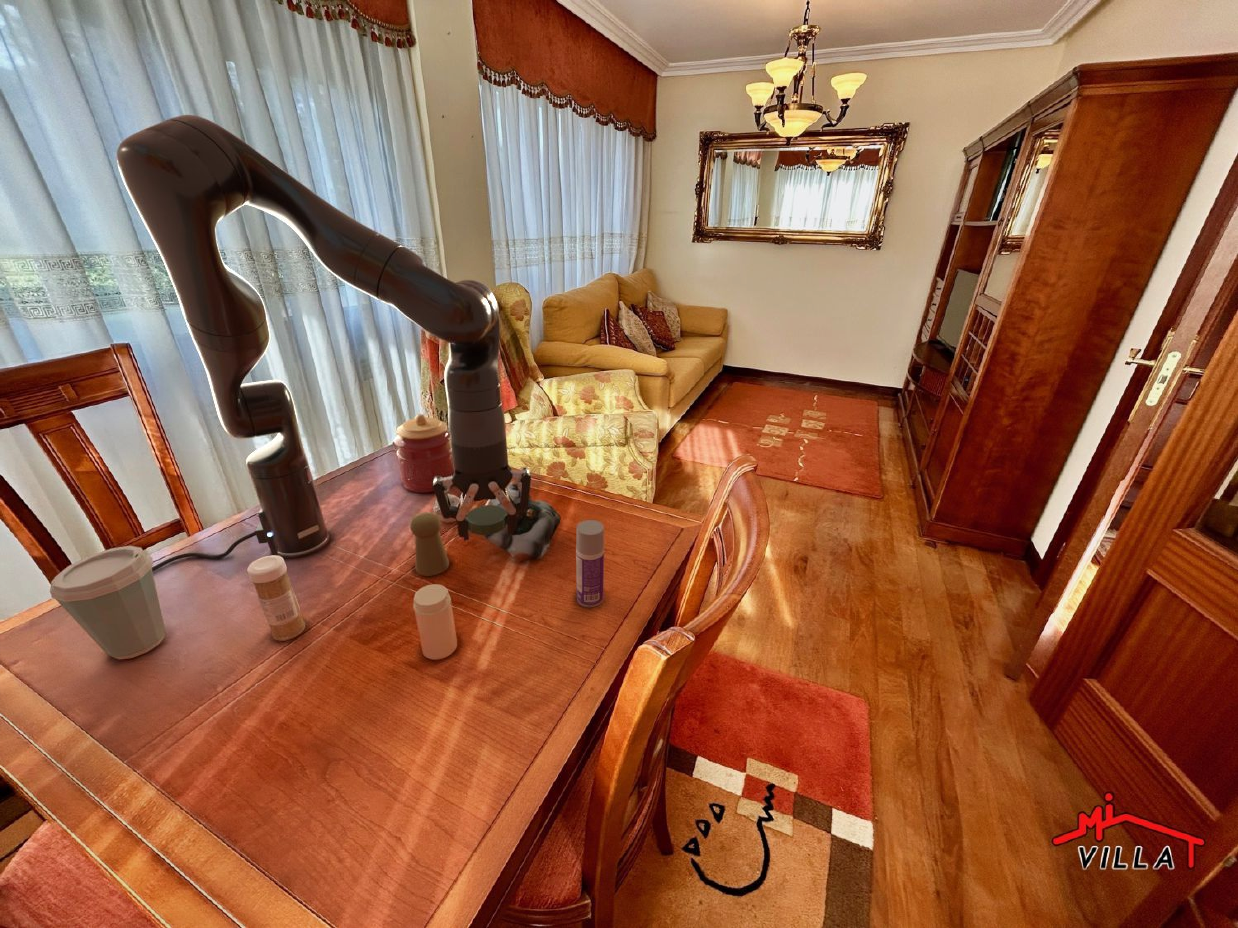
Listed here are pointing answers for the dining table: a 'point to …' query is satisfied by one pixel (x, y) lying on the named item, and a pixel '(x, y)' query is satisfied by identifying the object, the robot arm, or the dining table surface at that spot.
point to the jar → (435, 621)
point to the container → (590, 563)
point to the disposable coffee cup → (114, 600)
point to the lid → (486, 520)
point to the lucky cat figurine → (527, 528)
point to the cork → (428, 544)
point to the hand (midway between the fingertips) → (488, 534)
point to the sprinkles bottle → (276, 597)
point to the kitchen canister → (423, 452)
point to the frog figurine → (454, 502)
